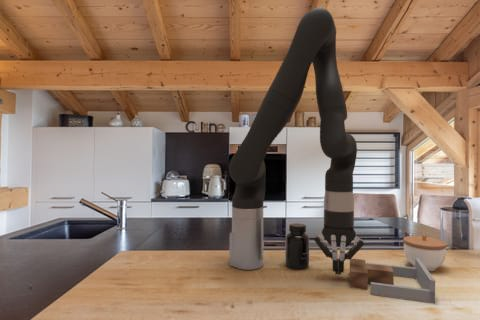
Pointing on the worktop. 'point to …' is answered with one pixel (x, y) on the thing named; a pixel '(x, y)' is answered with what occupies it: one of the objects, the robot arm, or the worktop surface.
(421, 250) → the lidded jar
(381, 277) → the t block
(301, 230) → the supplement bottle
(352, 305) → the worktop surface
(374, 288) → the grey fence
